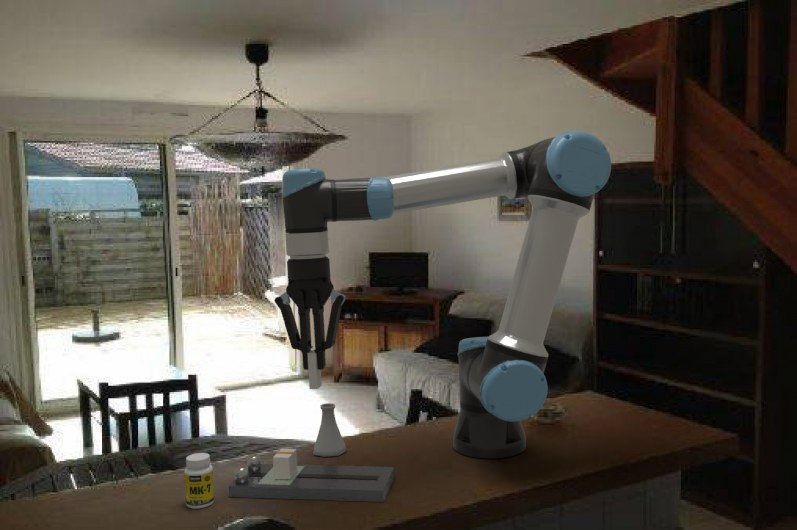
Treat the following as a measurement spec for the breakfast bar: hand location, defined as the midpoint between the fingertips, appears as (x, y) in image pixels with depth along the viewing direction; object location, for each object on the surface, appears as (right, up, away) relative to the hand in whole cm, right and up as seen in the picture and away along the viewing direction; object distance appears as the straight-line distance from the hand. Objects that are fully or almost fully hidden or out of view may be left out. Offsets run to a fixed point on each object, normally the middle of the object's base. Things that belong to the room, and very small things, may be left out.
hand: (315, 387), depth 124 cm
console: (-1, -19, +1) cm, 19 cm away
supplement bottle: (-20, -20, -4) cm, 28 cm away
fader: (-6, -16, +2) cm, 17 cm away
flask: (+1, -17, +20) cm, 27 cm away
